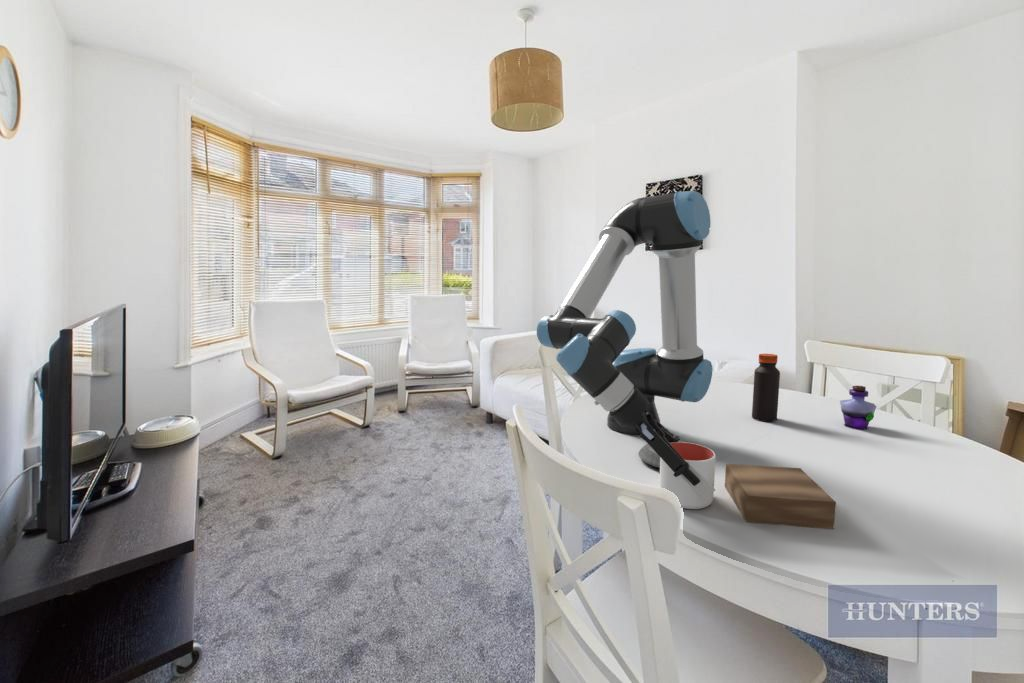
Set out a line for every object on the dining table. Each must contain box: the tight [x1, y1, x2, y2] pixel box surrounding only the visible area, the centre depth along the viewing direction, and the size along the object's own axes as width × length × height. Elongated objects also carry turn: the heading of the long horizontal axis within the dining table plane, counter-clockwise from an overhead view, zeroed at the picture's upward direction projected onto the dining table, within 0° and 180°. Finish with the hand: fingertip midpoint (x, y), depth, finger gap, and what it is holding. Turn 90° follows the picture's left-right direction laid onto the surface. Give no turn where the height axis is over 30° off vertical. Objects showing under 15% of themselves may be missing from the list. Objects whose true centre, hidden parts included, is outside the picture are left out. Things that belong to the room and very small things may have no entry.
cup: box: [658, 441, 717, 510], centre depth 88 cm, size 10×10×10 cm
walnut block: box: [724, 463, 837, 530], centre depth 85 cm, size 14×14×5 cm
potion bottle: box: [839, 385, 877, 431], centre depth 128 cm, size 9×9×12 cm
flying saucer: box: [638, 440, 682, 469], centre depth 106 cm, size 15×15×6 cm
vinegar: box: [751, 353, 781, 423], centre depth 136 cm, size 7×7×20 cm
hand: (702, 481), depth 87 cm, fingers closed on cup, 10 cm apart
